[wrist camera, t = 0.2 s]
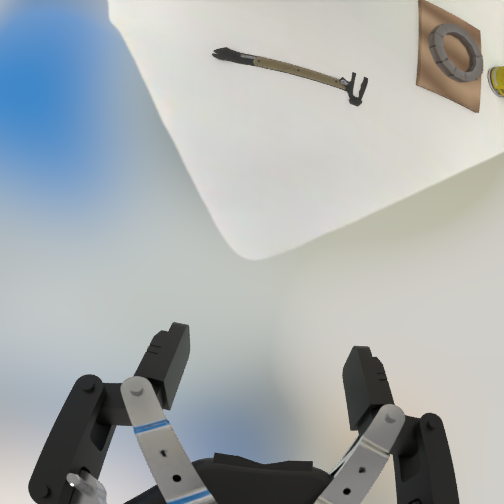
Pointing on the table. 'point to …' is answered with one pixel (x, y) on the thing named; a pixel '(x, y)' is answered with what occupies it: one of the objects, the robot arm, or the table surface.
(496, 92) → the supplement bottle
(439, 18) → the brown panel with ring
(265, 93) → the table surface
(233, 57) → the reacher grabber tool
